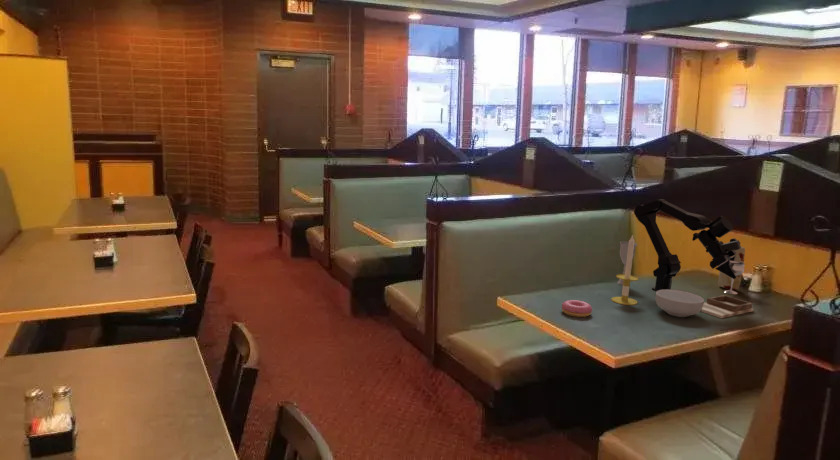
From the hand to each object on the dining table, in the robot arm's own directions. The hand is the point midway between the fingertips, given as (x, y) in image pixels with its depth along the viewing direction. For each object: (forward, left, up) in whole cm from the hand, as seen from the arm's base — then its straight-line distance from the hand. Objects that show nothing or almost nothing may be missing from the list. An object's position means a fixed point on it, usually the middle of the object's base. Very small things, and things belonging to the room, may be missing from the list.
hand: (737, 276), depth 245 cm
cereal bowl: (-27, +5, -13) cm, 31 cm away
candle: (-34, +24, -13) cm, 44 cm away
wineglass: (0, +1, -7) cm, 7 cm away
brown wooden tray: (-5, +1, -13) cm, 14 cm away
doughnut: (-64, +21, -13) cm, 68 cm away
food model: (+27, +18, -13) cm, 35 cm away
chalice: (-13, +42, -13) cm, 46 cm away
